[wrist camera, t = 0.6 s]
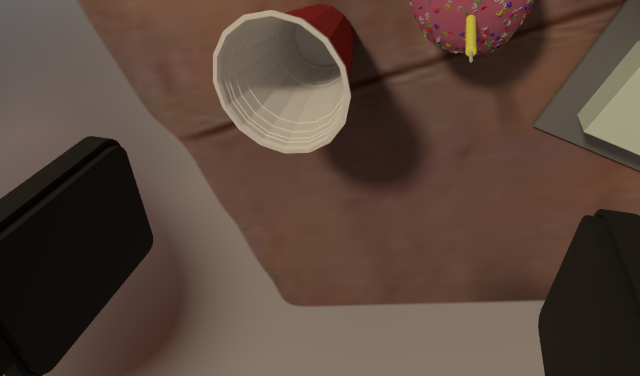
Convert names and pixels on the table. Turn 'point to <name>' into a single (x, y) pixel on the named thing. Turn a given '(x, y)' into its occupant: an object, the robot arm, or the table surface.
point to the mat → (594, 86)
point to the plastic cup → (286, 76)
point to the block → (617, 105)
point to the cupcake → (470, 23)
